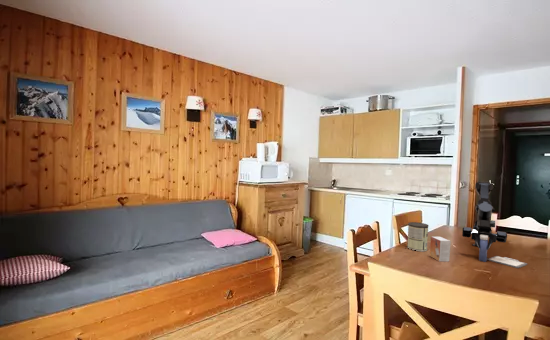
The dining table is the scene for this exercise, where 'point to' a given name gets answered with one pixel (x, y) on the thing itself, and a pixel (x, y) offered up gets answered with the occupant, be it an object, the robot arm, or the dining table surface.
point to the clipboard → (507, 261)
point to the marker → (483, 248)
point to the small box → (440, 248)
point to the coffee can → (417, 236)
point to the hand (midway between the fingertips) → (483, 248)
